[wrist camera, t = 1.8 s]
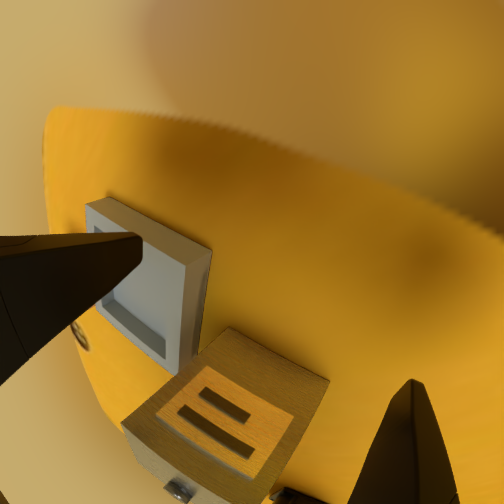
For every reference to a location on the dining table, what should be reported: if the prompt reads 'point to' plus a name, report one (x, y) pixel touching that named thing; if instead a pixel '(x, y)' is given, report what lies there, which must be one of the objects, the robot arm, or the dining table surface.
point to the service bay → (155, 286)
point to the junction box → (225, 422)
